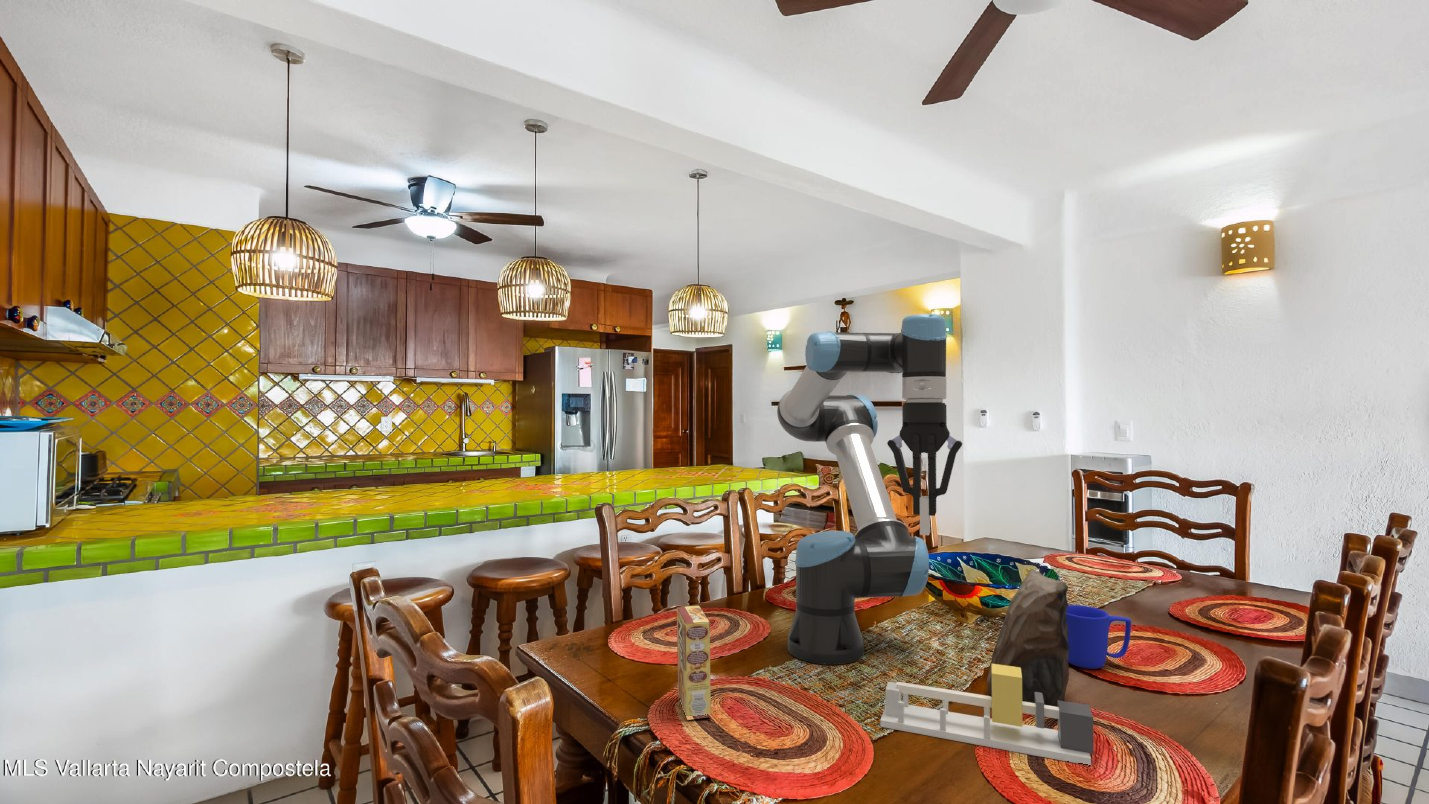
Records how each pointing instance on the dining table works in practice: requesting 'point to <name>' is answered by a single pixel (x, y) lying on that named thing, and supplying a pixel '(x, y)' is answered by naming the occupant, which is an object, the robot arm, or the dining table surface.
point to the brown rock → (1036, 639)
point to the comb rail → (993, 723)
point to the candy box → (693, 660)
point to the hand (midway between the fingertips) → (925, 533)
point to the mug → (1092, 636)
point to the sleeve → (1007, 695)
